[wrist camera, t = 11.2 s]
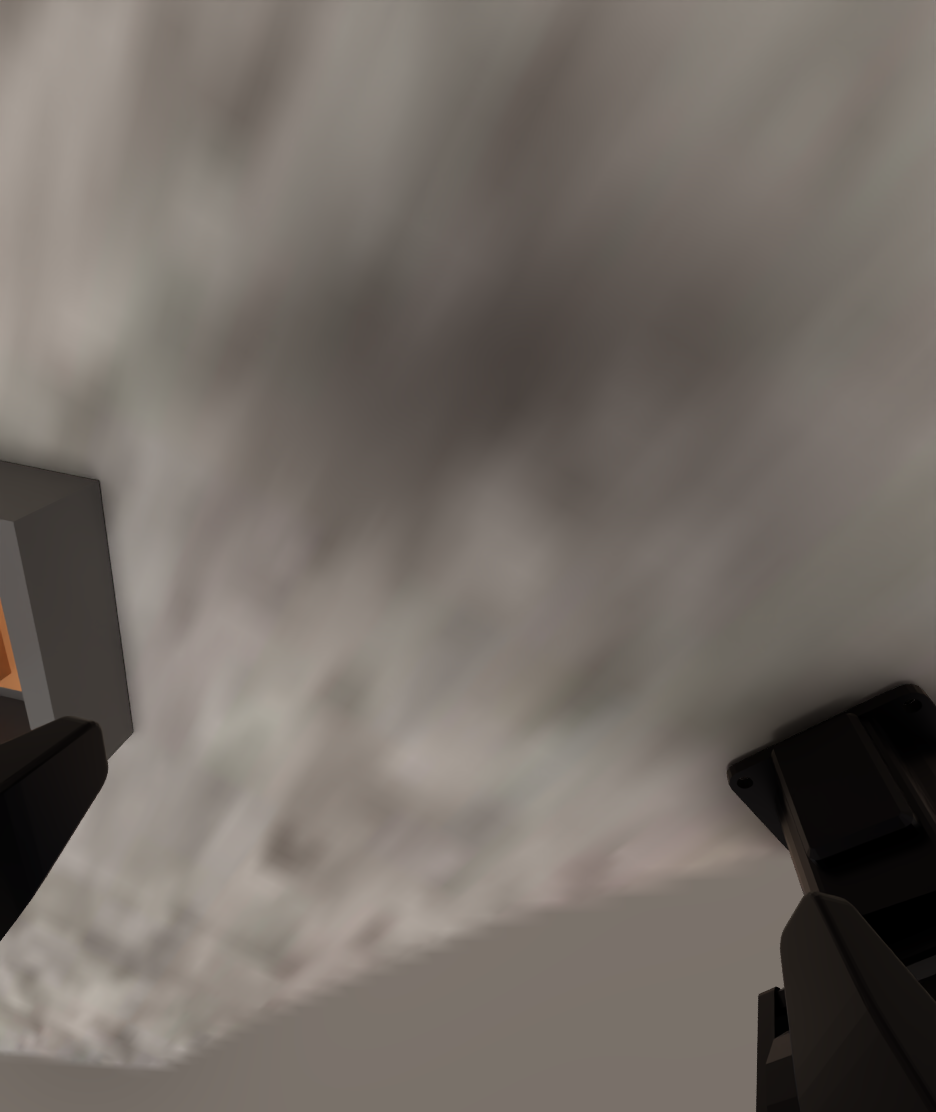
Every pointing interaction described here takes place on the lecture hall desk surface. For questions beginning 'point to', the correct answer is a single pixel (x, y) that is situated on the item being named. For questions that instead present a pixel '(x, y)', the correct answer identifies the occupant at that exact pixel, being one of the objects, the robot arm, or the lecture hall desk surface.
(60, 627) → the gray square tray
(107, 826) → the lecture hall desk surface
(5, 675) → the orange post with base
